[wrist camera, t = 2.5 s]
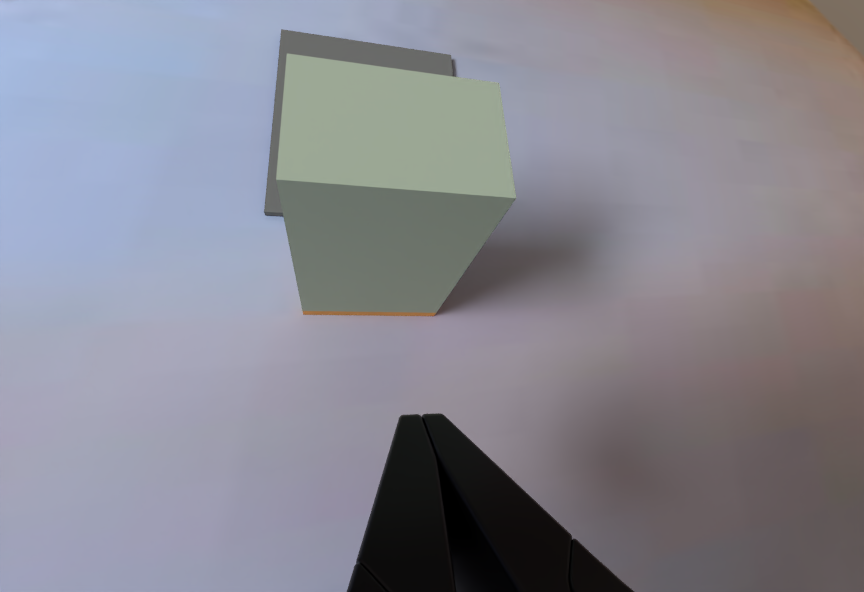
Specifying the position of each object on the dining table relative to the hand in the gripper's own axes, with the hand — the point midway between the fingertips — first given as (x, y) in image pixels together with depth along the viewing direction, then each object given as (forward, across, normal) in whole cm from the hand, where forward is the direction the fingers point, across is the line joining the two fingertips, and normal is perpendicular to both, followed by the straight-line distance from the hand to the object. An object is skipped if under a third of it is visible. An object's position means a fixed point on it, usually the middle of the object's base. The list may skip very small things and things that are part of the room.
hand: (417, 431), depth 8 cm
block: (+13, 0, +2) cm, 13 cm away
